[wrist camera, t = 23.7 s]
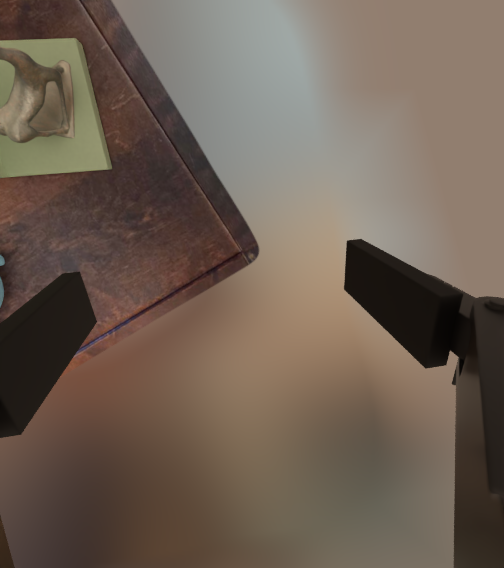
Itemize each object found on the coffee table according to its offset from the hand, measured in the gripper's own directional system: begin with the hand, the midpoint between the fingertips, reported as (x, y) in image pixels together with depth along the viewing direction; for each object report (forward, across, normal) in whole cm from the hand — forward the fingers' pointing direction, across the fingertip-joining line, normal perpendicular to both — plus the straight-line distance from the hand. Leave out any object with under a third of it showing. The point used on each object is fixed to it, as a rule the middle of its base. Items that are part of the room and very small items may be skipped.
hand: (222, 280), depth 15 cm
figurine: (+31, -18, +12) cm, 38 cm away
